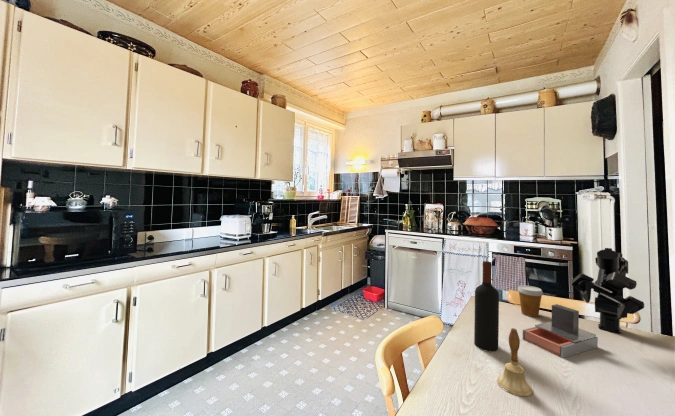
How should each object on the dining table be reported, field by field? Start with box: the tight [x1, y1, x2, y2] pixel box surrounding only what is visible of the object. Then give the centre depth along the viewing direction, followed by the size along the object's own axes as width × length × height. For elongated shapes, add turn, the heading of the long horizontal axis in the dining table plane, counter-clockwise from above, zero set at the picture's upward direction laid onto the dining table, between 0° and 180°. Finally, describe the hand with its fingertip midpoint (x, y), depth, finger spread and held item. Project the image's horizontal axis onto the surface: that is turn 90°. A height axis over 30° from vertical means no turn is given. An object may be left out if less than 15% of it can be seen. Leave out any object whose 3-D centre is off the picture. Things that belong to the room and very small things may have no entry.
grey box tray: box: [522, 326, 599, 359], centre depth 98 cm, size 19×13×4 cm
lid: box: [534, 303, 597, 342], centre depth 99 cm, size 13×13×9 cm
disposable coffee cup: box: [517, 284, 544, 318], centre depth 124 cm, size 10×10×12 cm
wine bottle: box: [473, 260, 500, 352], centre depth 96 cm, size 8×8×30 cm
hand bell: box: [496, 328, 534, 397], centre depth 75 cm, size 8×8×16 cm
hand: (603, 310), depth 94 cm, fingers open, 9 cm apart
